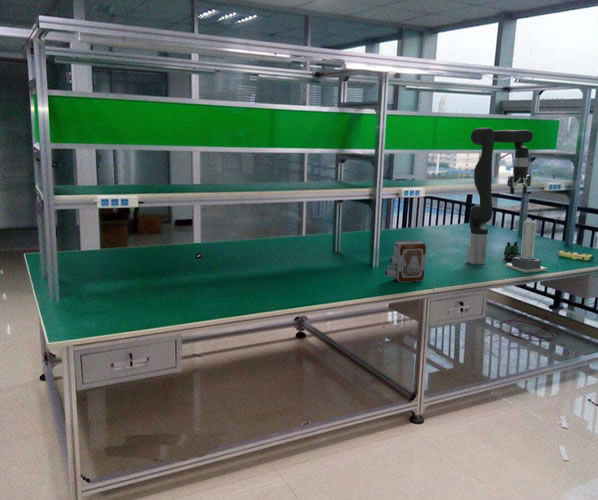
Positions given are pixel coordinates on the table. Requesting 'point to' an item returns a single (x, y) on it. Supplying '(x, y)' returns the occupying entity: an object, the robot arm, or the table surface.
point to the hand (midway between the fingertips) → (518, 193)
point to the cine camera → (408, 261)
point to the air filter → (528, 240)
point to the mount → (526, 265)
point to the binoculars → (511, 251)
